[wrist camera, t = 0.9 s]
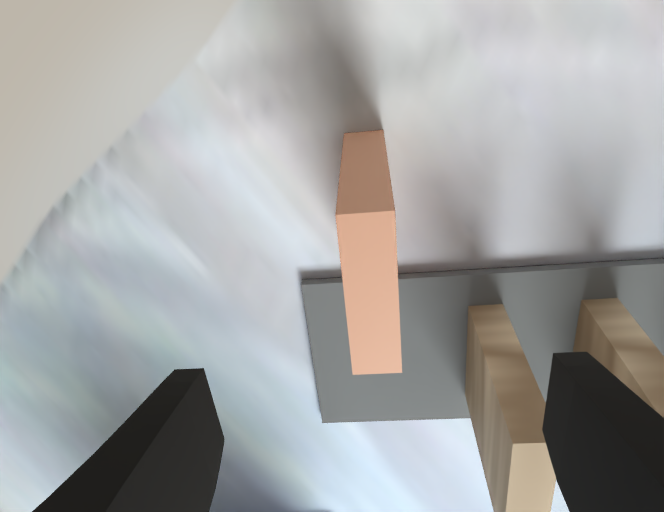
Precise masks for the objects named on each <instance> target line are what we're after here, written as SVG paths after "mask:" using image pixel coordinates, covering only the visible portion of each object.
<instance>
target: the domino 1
mask: <svg viewBox="0 0 664 512" xmlns="http://www.w3.org/2000/svg"><path fill="white" fill-rule="evenodd" d="M336 224H337V234H338V243H339V252H340V262H341V271H342V280H343V290H344V299H345V308H346V318H347V327H348V336H349V346H350V355H351V364H352V373H353V375H361V374H385V373H402V357H401V334H400V312H399V289H398V267H397V244H396V222H395V207H394V200H393V193H392V186H391V180H390V173H389V166H388V159H387V152H386V145H385V138H384V131H383V130H376V131H364V132H353V133H344V138H343V148H342V157H341V167H340V177H339V186H338V196H337V205H336Z"/></svg>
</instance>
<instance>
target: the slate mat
mask: <svg viewBox="0 0 664 512" xmlns="http://www.w3.org/2000/svg"><path fill="white" fill-rule="evenodd" d="M301 287H302V294H303V300H304V307H305V313H306V320H307V326H308V333H309V339H310V345H311V352H312V358H313V365H314V371H315V378H316V384H317V391H318V397H319V403H320V410H321V416H322V423H335V422H365V421H395V420H425V419H455V418H471V417H470V413H469V409H468V405H467V401H466V397H465V383H466V355H467V328H468V306H477V305H495V304H503V305H504V308H505V310H506V312H507V315H508V317H509V319H510V322H511V324H512V326H513V329H514V331H515V333H516V335H517V338H518V340H519V342H520V345H521V347H522V349H523V352H524V354H525V356H526V359H527V361H528V363H529V366H530V368H531V370H532V373H533V375H534V377H535V380H536V382H537V384H538V387H539V389H540V391H541V394H542V396H543V398H544V401H545V403H546V399H547V392H548V385H549V378H550V371H551V364H552V357H553V353H564V352H573V347H574V341H575V335H576V329H577V323H578V317H579V311H580V305H581V300H589V299H607V298H618V299H619V300H620V302H621V303H622V304H623V305H624V307H625V308H626V309H627V311H628V312H629V313H630V314H631V316H632V317H633V318H634V319H635V321H636V322H637V323H638V324H639V326H640V327H641V328H642V329H643V331H644V332H645V333H646V335H647V336H648V337H649V338H650V340H651V341H652V342H653V343H654V345H655V346H656V347H657V348H658V350H659V351H660V352H661V353H662V355H663V356H664V258H657V259H641V260H624V261H608V262H591V263H574V264H558V265H541V266H524V267H508V268H491V269H474V270H458V271H441V272H425V273H408V274H398V289H399V312H400V334H401V357H402V373H385V374H361V375H353V373H352V364H351V355H350V346H349V336H348V327H347V318H346V308H345V299H344V290H343V280H342V277H341V278H325V279H308V280H302V283H301Z"/></svg>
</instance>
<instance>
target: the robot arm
mask: <svg viewBox="0 0 664 512" xmlns="http://www.w3.org/2000/svg"><path fill="white" fill-rule="evenodd" d="M542 431H543V435H544V438H545V442H546V445H547V449H548V453H549V456H550V460H551V463H552V466H553V469H554V473H555V476H556V479H557V482H558V485H559V487H560V490H561V492H562V495H563V497H564V499H565V502H566V504H567V506H568V509H569V511H570V512H664V418H663V417H662V416H661V415H660V414H659V413H658V412H656V411H655V410H654V409H653V408H652V407H650V406H649V405H648V404H647V403H646V402H645V401H643V400H642V399H641V398H640V397H639V396H638V395H636V394H635V393H634V392H633V391H632V390H631V389H629V388H628V387H627V386H626V385H625V384H624V383H623V382H621V381H620V380H619V379H618V378H617V377H616V376H615V375H613V374H612V373H611V372H610V371H609V370H608V369H607V368H605V367H604V366H603V365H602V364H601V363H600V362H599V361H597V360H596V359H595V358H594V357H593V356H592V355H590V354H589V353H588V352H564V353H553V357H552V364H551V371H550V378H549V385H548V392H547V399H546V406H545V413H544V420H543V427H542ZM223 445H224V436H223V432H222V429H221V426H220V422H219V419H218V415H217V412H216V409H215V405H214V402H213V398H212V395H211V392H210V388H209V385H208V381H207V378H206V375H205V371H204V368H200V369H177V370H174V371H173V372H172V373H171V374H170V375H169V376H168V377H167V378H166V379H165V380H164V381H163V382H162V383H161V384H160V385H159V386H158V387H157V388H156V389H155V390H154V392H153V393H152V394H151V395H150V396H149V397H148V398H147V399H146V400H145V401H144V402H143V403H142V404H141V405H140V406H139V408H138V409H137V410H136V411H135V412H134V413H133V414H132V415H131V416H130V417H129V418H128V419H127V420H126V421H125V422H124V423H123V424H122V425H121V426H120V427H119V428H118V429H117V430H116V432H115V433H114V434H113V435H112V436H111V437H110V438H109V439H108V440H107V441H106V442H105V443H104V444H103V445H102V446H101V447H100V448H99V449H98V450H97V451H96V452H95V453H94V454H93V455H92V456H91V457H90V458H89V459H88V460H87V461H86V462H85V463H84V464H83V465H81V466H80V467H79V468H78V469H77V470H76V471H75V472H74V473H73V474H72V475H71V476H70V477H69V478H68V479H67V480H66V481H65V482H64V483H63V484H62V485H61V486H59V487H58V488H57V489H56V490H55V491H54V492H53V493H52V494H51V495H50V496H49V497H48V498H47V499H46V500H45V501H44V502H42V503H41V504H40V505H39V506H38V507H37V508H36V509H35V510H34V511H32V512H209V509H210V506H211V502H212V499H213V496H214V492H215V489H216V484H217V479H218V473H219V468H220V463H221V457H222V451H223Z"/></svg>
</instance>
